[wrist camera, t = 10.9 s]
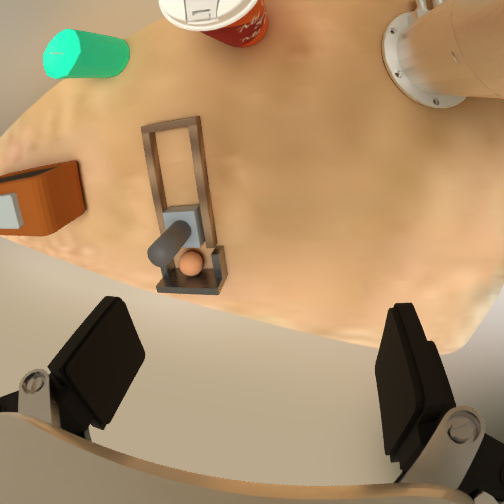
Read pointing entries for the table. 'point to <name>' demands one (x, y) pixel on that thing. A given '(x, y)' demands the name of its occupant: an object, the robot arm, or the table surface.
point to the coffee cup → (220, 19)
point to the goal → (195, 277)
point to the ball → (190, 263)
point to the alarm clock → (40, 199)
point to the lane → (199, 169)
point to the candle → (85, 55)
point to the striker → (177, 234)
